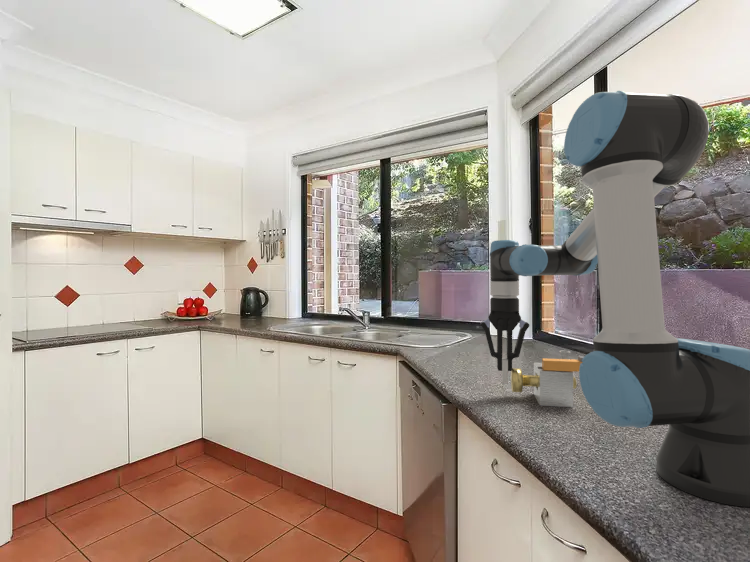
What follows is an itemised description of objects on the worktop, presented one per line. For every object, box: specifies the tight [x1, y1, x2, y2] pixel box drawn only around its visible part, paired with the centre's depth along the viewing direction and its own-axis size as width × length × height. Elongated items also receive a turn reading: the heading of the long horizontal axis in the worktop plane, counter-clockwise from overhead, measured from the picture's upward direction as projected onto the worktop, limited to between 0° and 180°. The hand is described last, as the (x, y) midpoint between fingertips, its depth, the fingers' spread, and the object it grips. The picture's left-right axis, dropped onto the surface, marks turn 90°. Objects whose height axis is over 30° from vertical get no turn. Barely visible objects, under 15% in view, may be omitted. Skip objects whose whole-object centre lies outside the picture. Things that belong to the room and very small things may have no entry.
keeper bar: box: [541, 355, 585, 373], centre depth 106 cm, size 3×10×4 cm, turn 77°
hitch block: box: [533, 361, 574, 408], centre depth 110 cm, size 10×8×9 cm
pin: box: [510, 367, 577, 393], centre depth 111 cm, size 6×16×6 cm, turn 77°
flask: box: [559, 350, 578, 387], centre depth 126 cm, size 7×7×10 cm
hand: (504, 382), depth 113 cm, fingers closed
